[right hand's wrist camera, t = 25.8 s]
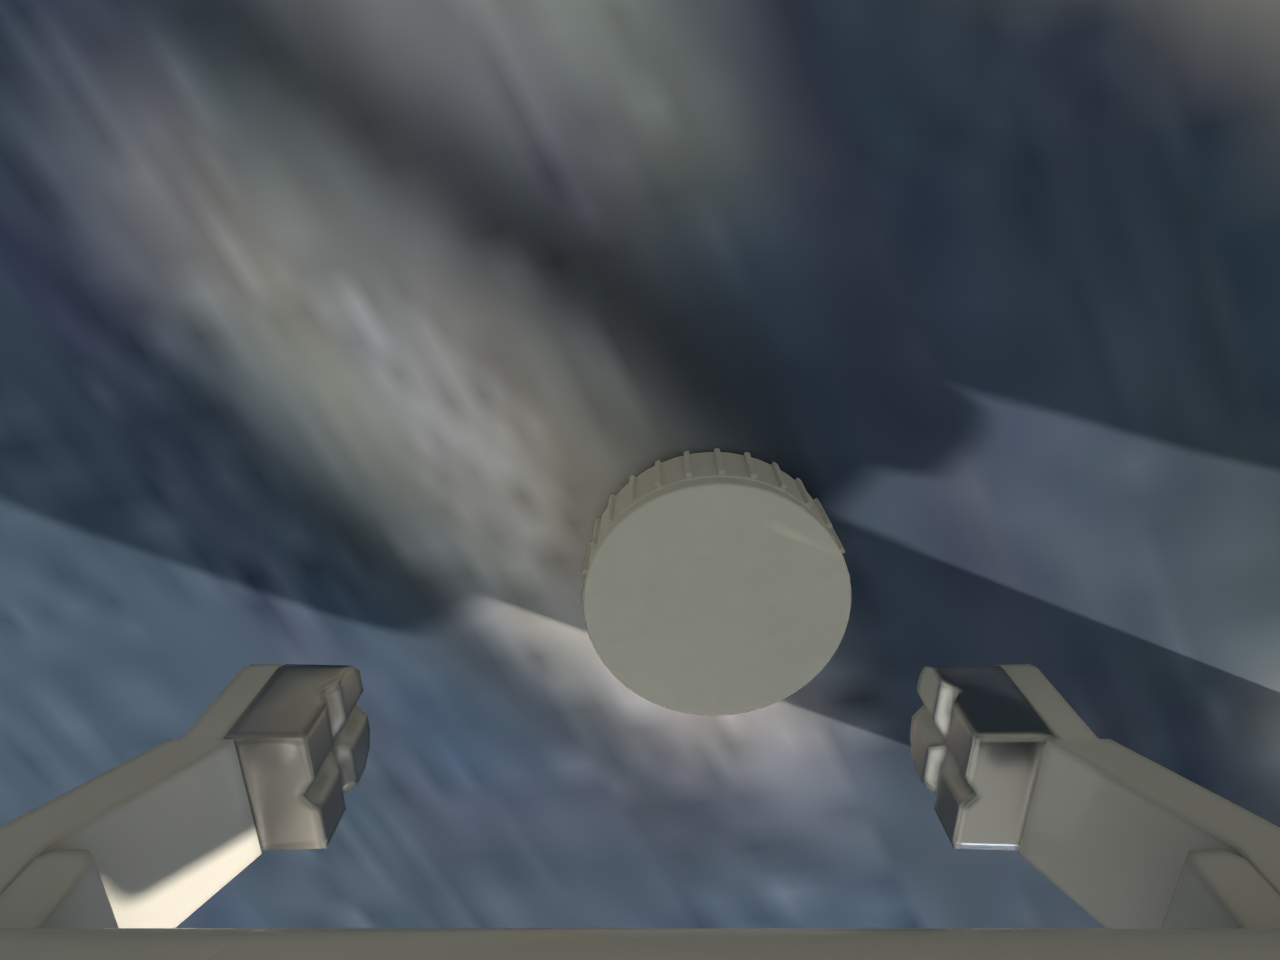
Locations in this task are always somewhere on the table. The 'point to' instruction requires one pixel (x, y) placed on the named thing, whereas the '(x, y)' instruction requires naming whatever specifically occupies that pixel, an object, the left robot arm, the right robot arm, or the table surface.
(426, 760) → the table surface
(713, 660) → the lid
